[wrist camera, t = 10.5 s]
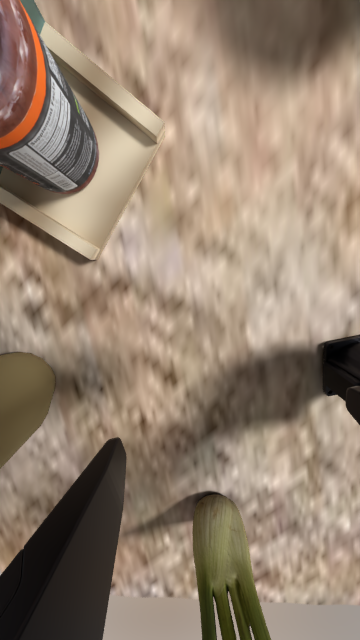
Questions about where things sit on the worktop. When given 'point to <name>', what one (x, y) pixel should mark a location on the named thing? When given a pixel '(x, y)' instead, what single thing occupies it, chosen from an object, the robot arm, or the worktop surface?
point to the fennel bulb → (225, 571)
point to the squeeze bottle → (22, 399)
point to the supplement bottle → (40, 111)
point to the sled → (114, 154)
